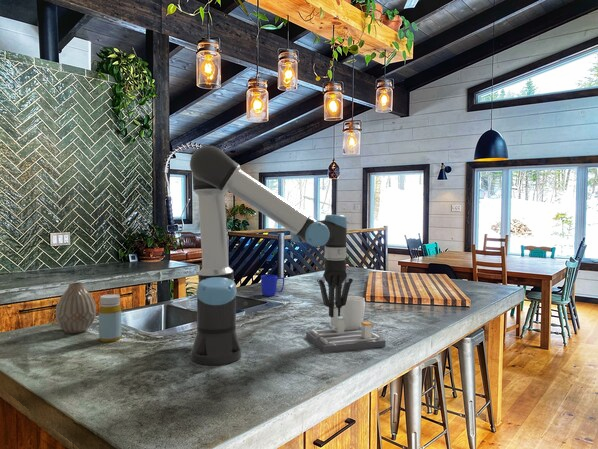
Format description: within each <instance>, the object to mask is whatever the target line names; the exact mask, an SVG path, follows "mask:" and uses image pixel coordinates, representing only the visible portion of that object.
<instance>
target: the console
mask: <svg viewBox="0 0 598 449" xmlns="http://www.w3.org/2000/svg"><path fill="white" fill-rule="evenodd" d="M305 334H306V335H305V336H306V339H308V340H309V341H310V342H311V343H312V344H313V345H315V346H316V348H318V349H319V350H320V351H321V352H322V353H331V352H344V351H354V350H363V349H373V348H383V347H386V339H383V338H382V337H381V336H380V335H378V334H376V333H374V332H373V331H372V337H371V338H368V339H364V338H363V337H361V326H359V327H352V328H344V332H339V333H337V332H336V331H335V328H331V329H320V330H317V329H316V330H315V329H311V330H308V331H306V333H305Z"/></svg>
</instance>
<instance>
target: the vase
mask: <svg viewBox="0 0 598 449" xmlns="http://www.w3.org/2000/svg"><path fill="white" fill-rule="evenodd" d="M96 316H97V306H96V302H95V299H94V298H93V296H92V294H90V292H89V291H88V290H87V289H86V288H85V287H84V284H83V282H81V281H80V282H79V281H74V282H70V283H68V287H67V289H66V290H65V291H64V292H63V294H62V295H61V297H60V298H59V299H58V301H57V304H56V308H55V319H56V323H57V325H58V326H59V327H60V329H61V330H62V331H64V332H65V333H66V334H81V333H83V332H86V331H87V330H88V329H89V328H91V326H92V325H93V324H94V322H95V319H96Z"/></svg>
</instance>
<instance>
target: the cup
mask: <svg viewBox="0 0 598 449" xmlns="http://www.w3.org/2000/svg"><path fill="white" fill-rule="evenodd" d="M365 300H366V299H365V297H363V296H360V295H348V297H347V301H346V305H345V306H342V308H340V315H341V316H342V317H343V318H344V328H352V327H359V326H361V322H364V314H365V308H366V302H365Z"/></svg>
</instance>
